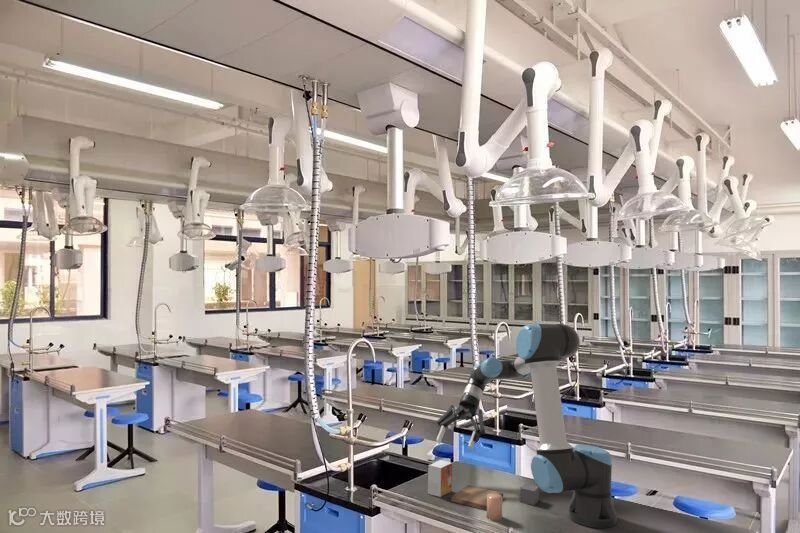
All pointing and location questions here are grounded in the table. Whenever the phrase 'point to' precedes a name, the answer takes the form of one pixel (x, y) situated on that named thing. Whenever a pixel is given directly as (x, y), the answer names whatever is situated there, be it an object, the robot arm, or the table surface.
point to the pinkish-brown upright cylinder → (494, 507)
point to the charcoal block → (529, 494)
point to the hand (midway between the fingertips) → (453, 445)
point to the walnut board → (473, 497)
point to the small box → (440, 478)
